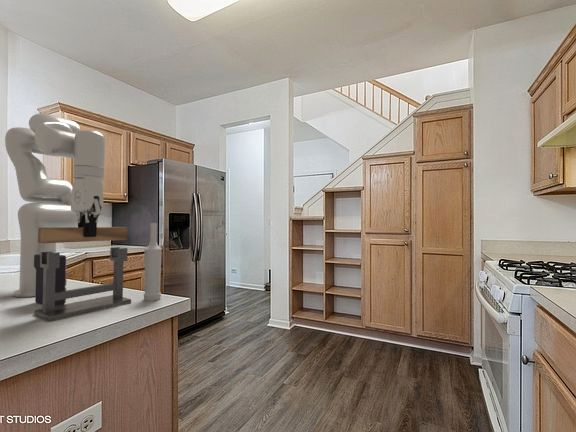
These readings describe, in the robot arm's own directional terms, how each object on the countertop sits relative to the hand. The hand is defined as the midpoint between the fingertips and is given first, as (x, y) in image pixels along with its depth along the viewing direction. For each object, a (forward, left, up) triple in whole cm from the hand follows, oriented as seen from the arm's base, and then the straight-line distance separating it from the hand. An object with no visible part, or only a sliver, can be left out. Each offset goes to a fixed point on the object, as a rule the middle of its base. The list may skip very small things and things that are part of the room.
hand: (86, 235), depth 87 cm
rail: (0, 0, -2) cm, 2 cm away
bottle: (+6, +17, -21) cm, 28 cm away
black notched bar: (-14, -4, -21) cm, 26 cm away
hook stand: (0, 0, -21) cm, 21 cm away
